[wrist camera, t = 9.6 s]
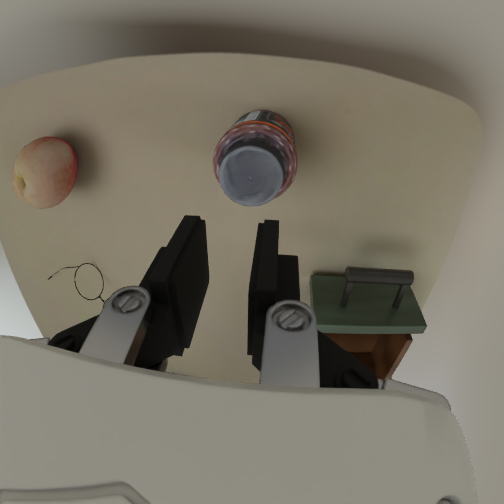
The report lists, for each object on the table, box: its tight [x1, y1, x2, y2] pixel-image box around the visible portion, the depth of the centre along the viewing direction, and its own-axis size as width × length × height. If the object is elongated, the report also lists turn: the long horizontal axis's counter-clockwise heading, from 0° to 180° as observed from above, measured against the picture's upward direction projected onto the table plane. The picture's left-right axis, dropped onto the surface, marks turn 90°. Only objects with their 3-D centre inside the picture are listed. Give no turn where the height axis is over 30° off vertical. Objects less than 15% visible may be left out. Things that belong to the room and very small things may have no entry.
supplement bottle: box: [213, 110, 297, 206], centre depth 23 cm, size 6×6×11 cm
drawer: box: [309, 267, 427, 381], centre depth 34 cm, size 18×12×8 cm
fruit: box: [13, 137, 78, 209], centre depth 27 cm, size 8×8×8 cm
